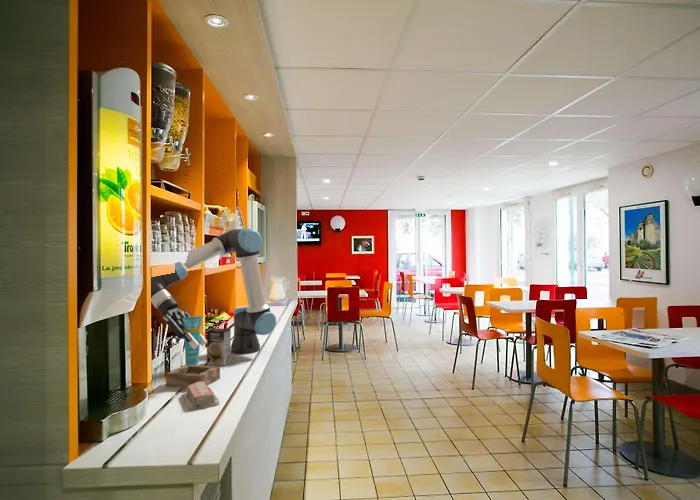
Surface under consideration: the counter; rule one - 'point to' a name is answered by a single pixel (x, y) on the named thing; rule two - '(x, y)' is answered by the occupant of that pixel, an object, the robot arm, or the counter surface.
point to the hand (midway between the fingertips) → (200, 345)
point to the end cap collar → (192, 375)
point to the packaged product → (200, 396)
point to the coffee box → (218, 346)
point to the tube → (193, 328)
